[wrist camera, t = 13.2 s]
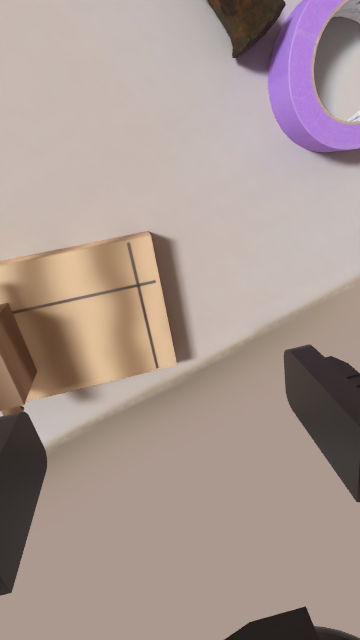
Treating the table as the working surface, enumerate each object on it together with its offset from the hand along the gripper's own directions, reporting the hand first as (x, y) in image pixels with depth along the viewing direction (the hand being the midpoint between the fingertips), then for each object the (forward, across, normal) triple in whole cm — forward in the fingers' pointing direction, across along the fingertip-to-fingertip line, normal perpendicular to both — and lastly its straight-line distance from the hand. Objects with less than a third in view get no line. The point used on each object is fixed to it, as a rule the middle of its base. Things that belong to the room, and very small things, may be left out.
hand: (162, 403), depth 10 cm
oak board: (+22, +9, +5) cm, 24 cm away
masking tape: (+24, -19, -11) cm, 32 cm away
